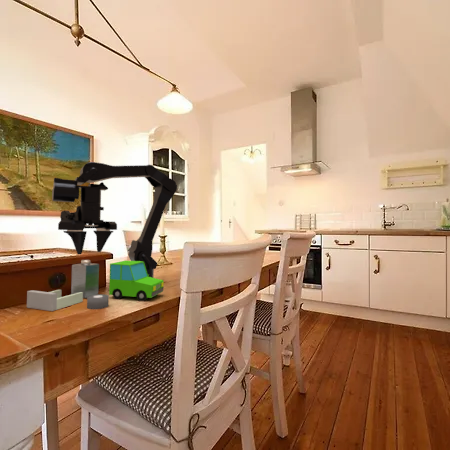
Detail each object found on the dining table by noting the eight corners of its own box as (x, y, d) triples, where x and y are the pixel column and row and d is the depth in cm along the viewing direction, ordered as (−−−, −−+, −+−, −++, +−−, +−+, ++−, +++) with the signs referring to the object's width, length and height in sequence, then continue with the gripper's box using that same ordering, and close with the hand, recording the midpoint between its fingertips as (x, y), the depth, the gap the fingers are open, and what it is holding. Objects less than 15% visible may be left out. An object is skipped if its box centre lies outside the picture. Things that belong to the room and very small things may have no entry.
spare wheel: (97, 302, 74) (97, 293, 74) (112, 304, 72) (112, 295, 72) (82, 308, 69) (82, 297, 69) (98, 310, 67) (98, 299, 67)
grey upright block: (84, 292, 84) (85, 258, 84) (98, 294, 82) (99, 259, 82) (71, 296, 79) (72, 260, 79) (85, 298, 77) (86, 261, 77)
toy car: (150, 303, 75) (151, 266, 75) (106, 299, 77) (107, 264, 77) (165, 294, 85) (166, 262, 85) (126, 291, 87) (127, 260, 87)
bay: (59, 298, 77) (59, 284, 77) (82, 301, 74) (82, 286, 74) (26, 307, 68) (27, 291, 68) (52, 311, 66) (52, 294, 66)
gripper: (91, 205, 97) (90, 249, 97) (43, 200, 79) (42, 254, 79) (118, 205, 94) (117, 251, 94) (74, 200, 76) (73, 256, 76)
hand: (89, 253), depth 86 cm, fingers open, 8 cm apart
